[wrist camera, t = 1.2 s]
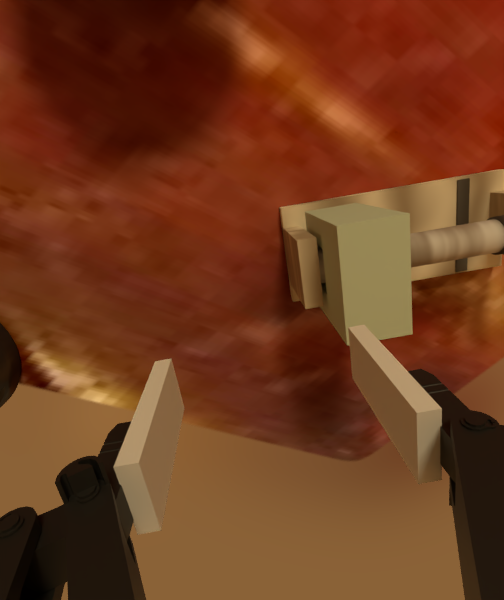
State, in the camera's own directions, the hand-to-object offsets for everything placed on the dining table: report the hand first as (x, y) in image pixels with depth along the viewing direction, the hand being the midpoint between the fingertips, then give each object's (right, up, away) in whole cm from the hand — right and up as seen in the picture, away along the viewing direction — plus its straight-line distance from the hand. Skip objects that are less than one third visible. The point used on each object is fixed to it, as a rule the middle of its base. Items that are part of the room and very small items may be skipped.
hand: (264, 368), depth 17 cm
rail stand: (+14, +10, +22) cm, 28 cm away
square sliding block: (+8, +8, +19) cm, 22 cm away
